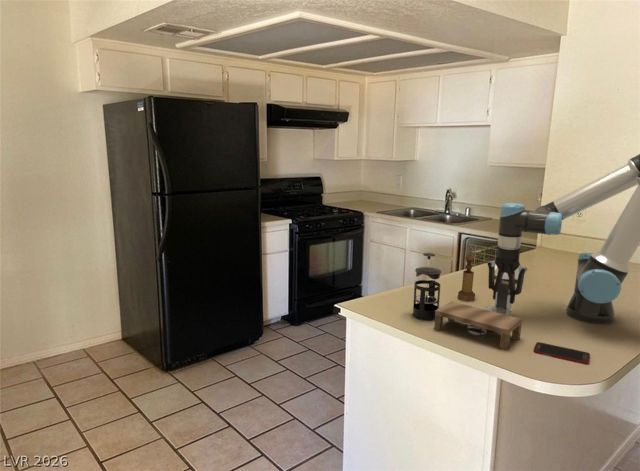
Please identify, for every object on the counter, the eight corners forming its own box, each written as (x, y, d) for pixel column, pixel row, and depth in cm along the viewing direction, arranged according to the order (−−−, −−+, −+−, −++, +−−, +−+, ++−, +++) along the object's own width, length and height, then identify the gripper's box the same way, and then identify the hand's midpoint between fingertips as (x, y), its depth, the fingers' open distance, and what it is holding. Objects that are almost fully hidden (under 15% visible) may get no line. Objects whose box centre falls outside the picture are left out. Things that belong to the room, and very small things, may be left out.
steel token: (488, 333, 154) (489, 328, 154) (481, 339, 150) (481, 333, 150) (471, 328, 158) (471, 323, 158) (463, 334, 154) (463, 328, 153)
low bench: (520, 338, 151) (522, 319, 149) (506, 350, 142) (508, 330, 141) (450, 318, 166) (451, 301, 165) (434, 328, 157) (435, 310, 156)
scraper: (515, 315, 170) (518, 283, 167) (494, 331, 156) (497, 296, 153) (493, 310, 175) (496, 279, 172) (471, 324, 161) (474, 291, 158)
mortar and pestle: (475, 302, 183) (479, 257, 180) (458, 300, 184) (461, 256, 181) (473, 296, 190) (477, 253, 186) (457, 295, 191) (460, 252, 187)
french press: (433, 323, 162) (437, 258, 157) (407, 317, 167) (410, 254, 162) (443, 312, 172) (448, 251, 167) (419, 307, 176) (422, 248, 172)
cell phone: (588, 366, 133) (589, 363, 133) (532, 353, 141) (532, 350, 141) (590, 356, 140) (590, 352, 139) (536, 344, 147) (536, 341, 147)
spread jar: (520, 283, 207) (523, 258, 205) (494, 283, 207) (496, 257, 205) (510, 275, 219) (512, 251, 216) (485, 275, 219) (487, 251, 216)
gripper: (536, 249, 163) (529, 313, 168) (489, 241, 174) (484, 301, 179) (529, 253, 158) (522, 318, 163) (481, 245, 168) (476, 307, 173)
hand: (502, 309), depth 171 cm, fingers closed on scraper, 3 cm apart
